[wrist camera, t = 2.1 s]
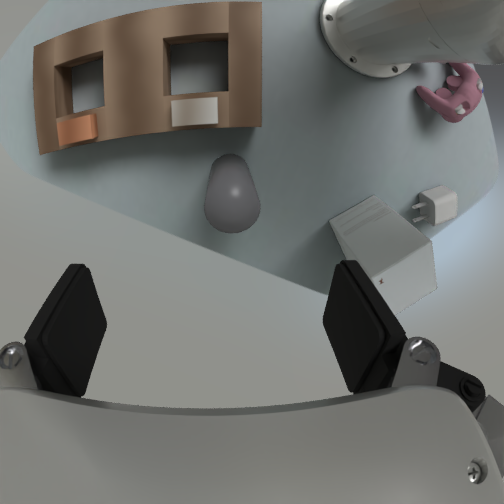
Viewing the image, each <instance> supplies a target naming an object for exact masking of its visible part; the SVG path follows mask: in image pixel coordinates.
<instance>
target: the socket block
mask: <svg viewBox="0 0 504 504" xmlns="http://www.w3.org/2000/svg"><path fill="white" fill-rule="evenodd" d="M210 41H228V91H223V92H204V93H190V94H179V95H171V68H170V45H176V44H185V43H196V42H210ZM102 58H103V78H104V101H105V106H103V107H98V108H94V109H90V110H86V111H82V112H78V113H74V114H73V100H72V70H71V67H74V66H77V65H81V64H84V63H87V62H91V61H94V60H98V59H102ZM33 90H34V109H35V121H36V131H37V139H38V147H39V153H40V155H42V154H46V153H49V152H53V151H57V150H61V149H66V148H70V147H74V146H79V145H84V144H88V143H93V142H99V141H104V140H110V139H115V138H122V137H128V136H135V135H142V134H150V133H158V132H168V131H178V130H190V129H204V128H224V127H261V125H262V2H208V3H195V4H184V5H176V6H169V7H162V8H156V9H150V10H145V11H140V12H135V13H130V14H126V15H122V16H118V17H114V18H110V19H107V20H103V21H100V22H96V23H93V24H90V25H87V26H84V27H81V28H78V29H75V30H72V31H70V32H67V33H64V34H62V35H59V36H57V37H54V38H52V39H50V40H47V41H45V42H43V43H41V44H38V45H36V46H34V56H33Z"/></svg>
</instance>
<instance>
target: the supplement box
mask: <svg viewBox="0 0 504 504" xmlns="http://www.w3.org/2000/svg"><path fill="white" fill-rule="evenodd" d="M329 223H330V225H331V227H332V229H333V231H334V233H335V235H336V238H337V240H338V242H339V244H340V246H341V249H342V251H343V253H344V255H345V257H346V260H356V261H357V262H358V263H359V264H360V266H361V267H362V268H363V270H364V271H365V273H366V274H367V276H368V277H369V278H370V280H371V281H372V283H373V284H374V286H375V287H376V288H377V290H378V291H379V293H380V294H381V296H382V297H383V299H384V300H385V302H386V303H387V305H388V306H389V308H390V309H391V311H392V312H393V314H394V315H397V314H398V313H400V312H401V311H403V310H405V309H406V308H408V307H409V306H411V305H412V304H414V303H416V302H417V301H419V300H420V299H422V298H423V297H425V296H426V295H428V294H430V293H431V292H433V291H434V290H436V289H437V282H436V273H435V265H434V256H433V248H432V241H431V240H430V239H429V238H427V237H426V236H425V235H424V234H422V233H421V232H420V231H419V230H418V229H416V228H415V227H414V226H413V225H412V224H410V223H409V222H408V221H407V220H406V219H404V218H403V217H402V216H401V215H400V214H398V213H397V212H396V211H395V210H393V209H392V208H391V207H390V206H388V205H387V204H386V203H384V202H383V201H381V200H380V199H379V198H377V197H376V196H375V195H373V196H371V197H370V198H368V199H366V200H364V201H362V202H361V203H359V204H357V205H356V206H354V207H352V208H350V209H348V210H347V211H345V212H343V213H341V214H340V215H338V216H336V217H334V218H333V219H331V220H329Z"/></svg>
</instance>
